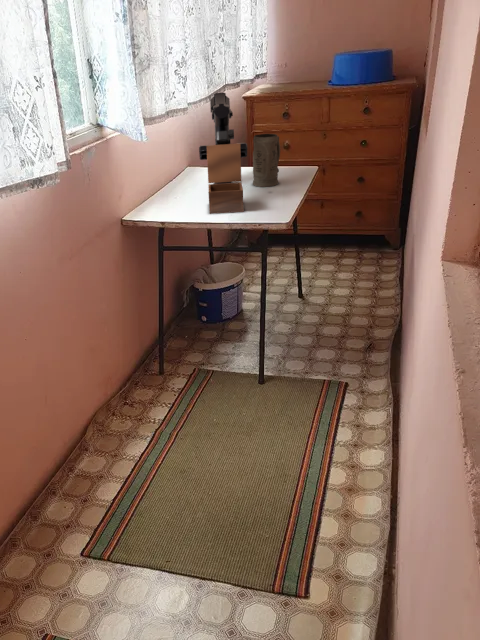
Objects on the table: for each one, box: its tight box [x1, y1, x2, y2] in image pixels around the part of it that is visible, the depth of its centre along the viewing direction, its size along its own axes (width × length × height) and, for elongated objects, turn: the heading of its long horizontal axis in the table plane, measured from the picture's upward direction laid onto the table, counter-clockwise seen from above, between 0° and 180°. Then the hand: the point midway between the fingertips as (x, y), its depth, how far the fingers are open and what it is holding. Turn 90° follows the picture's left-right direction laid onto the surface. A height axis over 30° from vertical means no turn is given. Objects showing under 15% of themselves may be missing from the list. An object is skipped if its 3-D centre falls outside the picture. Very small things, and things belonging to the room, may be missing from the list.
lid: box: [206, 142, 242, 184], centre depth 228 cm, size 13×13×1 cm
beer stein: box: [252, 133, 281, 188], centre depth 255 cm, size 15×11×20 cm
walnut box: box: [207, 181, 245, 215], centre depth 227 cm, size 13×13×8 cm
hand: (224, 170), depth 234 cm, fingers closed
